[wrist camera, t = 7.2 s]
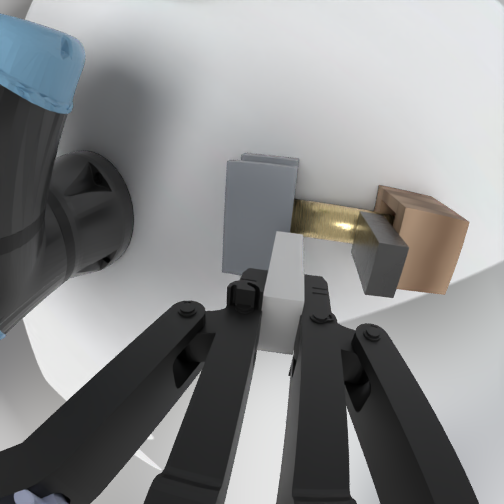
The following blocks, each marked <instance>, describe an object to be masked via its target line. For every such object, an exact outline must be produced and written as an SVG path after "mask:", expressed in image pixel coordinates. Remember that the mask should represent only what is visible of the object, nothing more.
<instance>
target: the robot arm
mask: <svg viewBox="0 0 504 504" xmlns="http://www.w3.org/2000/svg"><path fill="white" fill-rule="evenodd" d="M84 63H85V50H84V47H83V45H82V43H81V42H80V41H79V40H78V39H77V38H75V37H73V36H71V35H68V34H66V33H63V32H60V31H58V30H55V29H52V28H49V27H46V26H43V25H40V24H37V23H34V22H30V21H27V20H23V19H20V18H16V17H12V16H8V15H4V14H0V340H1V339H2V338H5V336H6V333H7V332H8V331H9V330H10V329H11V328H12V327H14V326H15V325H16V324H17V323H18V322H19V321H20V320H21V319H22V318H23V317H25V316H26V315H27V314H28V313H29V312H30V311H31V310H32V309H33V308H35V307H36V306H37V305H38V304H39V303H40V302H41V301H43V300H44V299H45V298H46V297H47V296H48V295H50V294H51V293H52V292H53V291H54V290H56V289H57V288H58V287H59V286H60V285H61V284H63V283H64V282H65V281H67V280H68V279H69V278H73V277H76V276H80V275H84V274H88V273H92V272H96V271H99V270H102V269H104V268H106V267H108V266H109V265H111V264H112V263H113V262H114V261H115V260H117V259H118V258H119V257H120V256H121V255H122V254H123V253H124V252H125V250H126V248H127V247H128V245H129V242H130V239H131V236H132V231H133V209H132V203H131V199H130V195H129V192H128V189H127V187H126V185H125V183H124V181H123V179H122V177H121V175H120V174H119V172H118V171H117V170H116V168H115V167H114V166H113V165H112V164H111V163H110V162H109V161H108V160H106V159H105V158H104V157H102V156H101V155H99V154H97V153H94V152H90V151H77V152H73V153H69V154H65V155H62V156H60V157H58V158H57V159H55V157H56V153H57V149H58V145H59V141H60V138H61V134H62V131H63V127H64V124H65V120H66V117H67V114H68V113H70V112H71V111H72V108H73V101H72V99H73V96H74V93H75V90H76V87H77V84H78V81H79V78H80V75H81V72H82V69H83V67H84ZM257 350H261V351H268V352H276V353H283V354H291V355H292V354H293V351H294V355H293V359H292V364H291V367H290V372H289V376H290V388H289V399H288V410H287V420H286V430H285V439H284V448H283V457H282V465H281V473H280V480H279V488H278V495H277V502H276V504H357V503H356V501H355V500H354V499H353V498H352V497H351V495H350V489H349V448H348V428H347V412H346V406H347V409H348V412H349V414H350V417H351V420H352V423H353V425H354V428H355V431H356V433H357V436H358V439H359V442H360V445H361V448H362V450H363V453H364V456H365V459H366V462H367V464H368V468H369V471H370V474H371V476H372V479H373V482H374V485H375V488H376V491H377V494H378V497H379V501H380V504H479V502H478V500H477V498H476V495H475V493H474V491H473V488H472V486H471V484H470V482H469V480H468V478H467V476H466V473H465V471H464V469H463V467H462V465H461V463H460V460H459V458H458V457H457V454H456V452H455V450H454V448H453V446H452V444H451V443H450V441H449V439H448V437H447V435H446V433H445V431H444V429H443V427H442V425H441V424H440V422H439V420H438V418H437V416H436V414H435V412H434V411H433V409H432V407H431V405H430V404H429V402H428V400H427V398H426V397H425V395H424V393H423V391H422V390H421V388H420V386H419V384H418V383H417V381H416V379H415V378H414V376H413V374H412V373H411V371H410V369H409V368H408V366H407V364H406V363H405V361H404V359H403V358H402V356H401V355H400V353H399V351H398V350H397V348H396V347H395V345H394V344H393V342H392V340H391V339H390V337H389V336H388V334H387V333H386V332H385V331H384V330H383V329H382V328H381V327H379V326H377V325H374V324H361V325H359V326H358V327H357V328H356V331H355V330H352V329H349V328H346V327H344V326H341V325H340V324H338V323H337V319H336V317H335V315H334V314H333V313H331V307H330V299H329V292H328V285H327V282H326V281H325V280H324V278H323V277H320V276H312V275H305V274H304V246H303V234H295V233H288V232H280V231H277V232H276V236H275V241H274V246H273V251H272V256H271V261H270V265H269V270H261V269H254V268H248V269H247V270H245V271H244V272H243V273H242V276H241V279H240V281H235V282H233V283H230V284H229V286H228V287H227V306H226V308H224V309H221V310H217V311H205V308H204V307H203V305H202V304H200V303H198V302H195V301H181V302H178V303H176V304H174V305H173V306H172V307H171V308H169V309H168V310H167V311H166V312H165V313H164V314H163V315H162V316H160V317H159V318H158V319H157V320H156V321H155V322H154V323H153V324H151V325H150V326H149V327H148V328H147V329H146V330H145V331H144V332H143V333H141V334H140V335H139V336H138V337H137V338H136V339H135V340H134V341H132V342H131V343H130V344H129V345H128V346H127V347H126V348H125V349H124V350H122V351H121V352H120V353H119V354H118V355H117V356H116V357H115V358H114V359H113V360H111V361H110V362H109V363H108V364H107V365H106V366H105V367H104V368H103V369H102V370H100V371H99V372H98V373H97V374H96V375H95V376H94V377H93V378H92V379H91V380H89V381H88V382H87V383H86V384H85V385H84V386H83V387H82V388H81V389H80V390H79V391H77V392H76V393H75V394H74V395H73V396H72V397H71V398H70V399H69V400H68V401H67V402H66V403H65V404H63V405H62V406H61V407H60V408H59V409H58V410H57V411H56V412H55V413H54V414H53V415H51V416H50V417H49V418H48V419H47V420H46V421H45V422H44V423H43V424H42V425H41V426H40V427H39V428H38V429H37V430H35V432H33V433H32V434H31V435H30V436H29V437H28V438H27V439H26V440H25V441H24V442H23V443H21V444H18V445H16V446H13V447H11V448H8V449H6V450H3V451H0V504H90V503H91V502H92V501H93V500H94V499H96V497H98V496H99V495H100V494H101V492H102V491H103V490H104V489H105V488H106V487H107V486H108V484H109V483H110V482H111V481H112V480H113V478H114V477H115V476H116V475H117V474H118V473H119V471H120V470H121V469H122V468H123V467H124V465H125V464H126V463H127V462H128V461H129V460H130V458H131V457H132V456H133V455H134V454H135V452H136V451H137V450H138V449H139V448H140V446H141V445H142V444H143V443H144V442H145V440H146V439H147V438H148V437H149V435H150V434H151V433H152V432H153V431H154V429H155V428H156V427H157V426H158V424H159V423H160V422H161V421H162V419H163V418H164V417H165V415H166V414H167V413H168V412H169V411H170V409H171V408H172V407H173V406H174V404H175V403H176V402H177V401H178V399H179V398H180V397H181V396H182V394H183V393H184V392H185V390H186V389H187V388H188V387H189V385H190V384H191V383H192V381H193V380H194V379H195V378H196V376H197V375H198V374H199V372H200V371H201V370H202V371H201V374H200V377H199V379H198V382H197V385H196V387H195V390H194V392H193V395H192V398H191V400H190V403H189V406H188V408H187V411H186V414H185V416H184V419H183V421H182V424H181V427H180V429H179V432H178V435H177V437H176V440H175V443H174V445H173V448H172V451H171V453H170V456H169V459H168V461H167V464H166V466H165V469H164V470H163V472H162V473H160V474H158V475H157V476H156V477H155V479H154V480H153V482H152V484H151V486H150V489H149V491H148V494H147V496H146V499H145V501H144V504H224V502H225V498H226V494H227V489H228V485H229V480H230V476H231V472H232V468H233V464H234V459H235V454H236V450H237V446H238V441H239V436H240V432H241V427H242V423H243V418H244V413H245V409H246V404H247V399H248V394H249V390H250V384H251V380H252V375H253V370H254V365H255V360H256V352H257Z"/></svg>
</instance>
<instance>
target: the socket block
mask: <svg viewBox="0 0 504 504" xmlns="http://www.w3.org/2000/svg"><path fill="white" fill-rule="evenodd" d="M374 212H380V213H385V214H390V215H395V220H394V224H393V228H394V229H395V230H396V231H397V233H398V234H399V235H400V236H401V238H402V239H403V240H404V241H405V243H406V244H407V245H408V247H409V251H408V254H407V257H406V261H405V264H404V267H403V270H402V274H401V277H400V280H399V283H398V286H397V289H401V290H409V291H418V292H426V293H435V294H443V295H445V293H446V290H447V288H448V285H449V283H450V280H451V278H452V275H453V272H454V270H455V267H456V264H457V261H458V258H459V255H460V252H461V249H462V246H463V243H464V239H465V236H466V233H467V229H468V226H469V221H467V220H466V219H464V218H463V217H462V216H460V215H459V214H457V213H456V212H454V211H453V210H451V209H450V208H448V207H447V206H445V205H444V204H442V203H441V202H439V201H438V200H436V199H434V198H433V197H431V196H427V195H422V194H418V193H414V192H410V191H405V190H400V189H396V188H391V187H386V186H381V185H379V188H378V193H377V199H376V204H375V209H374Z"/></svg>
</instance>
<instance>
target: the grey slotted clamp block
mask: <svg viewBox="0 0 504 504" xmlns="http://www.w3.org/2000/svg"><path fill="white" fill-rule="evenodd" d="M298 162H299V159H297V158H289V157H281V156H272V155H262V154H252V153H244V154H242V155H241V160H229V161H227V174H226V192H225V212H224V234H223V261H222V272H223V273H230V274H236V275H242V273H243V272H244V271H245V270H247V269H248V268H254V269H261V270H269V265H270V261H271V256H272V251H273V246H274V241H275V236H276V232H277V231H280V232H288V233H290V227H291V219H292V212H293V204H294V196H295V188H296V179H297V170H298Z"/></svg>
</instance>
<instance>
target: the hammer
mask: <svg viewBox="0 0 504 504" xmlns="http://www.w3.org/2000/svg"><path fill="white" fill-rule="evenodd" d="M394 220H395V215H390V214H385V213H380V212H374V211H369V210H363V209H357V208H351V207H345V206H339V205H332V204H326V203H319V202H312V201H305V200H298V199H294V204H293V212H292V219H291V227H290V233H295V234H303V237H310V238H317V239H324V240H331V241H337V242H344V243H351V244H353V245H352V250H351V253H352V256H353V259H354V262H355V265H356V268H357V271H358V274H359V277H360V281H361V284H362V287H363V290H364V294H365V295H373V296H381V297H390V298H393V297H394V294H395V291H396V289H397V286H398V283H399V280H400V277H401V274H402V270H403V267H404V264H405V261H406V257H407V254H408V251H409V247H408V245H407V244H406V243H405V241H404V240H403V239H402V238H401V236H400V235H399V234H398V233H397V231H396V230H395V229H394V228H393V224H394Z"/></svg>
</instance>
